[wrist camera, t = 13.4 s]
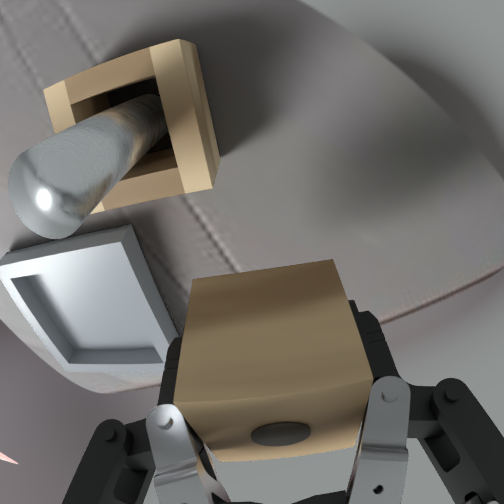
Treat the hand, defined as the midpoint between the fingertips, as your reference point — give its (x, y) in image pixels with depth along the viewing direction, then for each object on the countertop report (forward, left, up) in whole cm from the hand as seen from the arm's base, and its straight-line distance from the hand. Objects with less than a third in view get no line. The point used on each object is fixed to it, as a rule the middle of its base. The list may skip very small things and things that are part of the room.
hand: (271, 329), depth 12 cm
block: (0, 0, -1) cm, 1 cm away
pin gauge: (-8, -5, -8) cm, 12 cm away
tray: (+4, -14, -8) cm, 17 cm away
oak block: (-8, -5, -8) cm, 12 cm away
